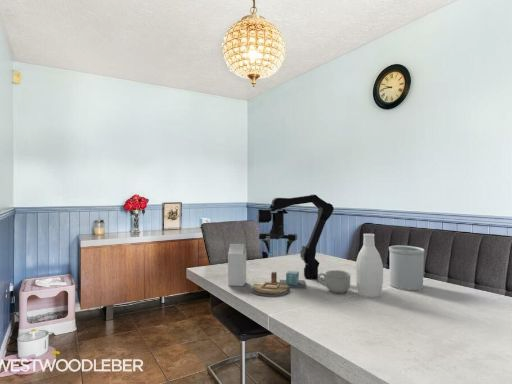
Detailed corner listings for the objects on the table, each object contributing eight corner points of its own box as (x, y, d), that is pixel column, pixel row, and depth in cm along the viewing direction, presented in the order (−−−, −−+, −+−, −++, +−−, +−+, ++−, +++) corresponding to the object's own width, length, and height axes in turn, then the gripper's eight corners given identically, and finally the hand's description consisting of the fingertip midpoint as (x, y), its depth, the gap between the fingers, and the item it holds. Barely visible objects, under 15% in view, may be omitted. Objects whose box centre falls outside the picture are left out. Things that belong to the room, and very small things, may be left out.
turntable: (258, 282, 153) (258, 271, 153) (291, 284, 148) (291, 273, 148) (247, 292, 138) (247, 279, 138) (284, 295, 133) (284, 282, 133)
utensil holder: (429, 285, 148) (428, 247, 148) (418, 293, 137) (418, 252, 137) (396, 280, 158) (395, 244, 158) (384, 286, 147) (383, 248, 147)
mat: (304, 281, 157) (304, 280, 157) (306, 288, 146) (306, 287, 146) (279, 280, 158) (279, 279, 158) (279, 287, 147) (279, 287, 147)
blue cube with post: (288, 281, 155) (288, 270, 155) (298, 282, 154) (298, 271, 154) (284, 286, 148) (284, 274, 148) (295, 287, 146) (295, 275, 146)
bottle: (363, 288, 144) (362, 231, 144) (388, 294, 136) (387, 234, 136) (350, 294, 136) (350, 234, 136) (376, 300, 128) (375, 236, 128)
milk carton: (242, 286, 149) (242, 245, 149) (228, 285, 150) (227, 245, 150) (246, 282, 156) (246, 243, 156) (232, 281, 157) (232, 242, 157)
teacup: (352, 289, 143) (352, 271, 143) (348, 296, 134) (348, 277, 134) (321, 285, 149) (321, 268, 149) (315, 292, 140) (315, 274, 140)
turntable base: (289, 285, 151) (289, 283, 151) (290, 296, 134) (290, 295, 134) (253, 284, 152) (253, 283, 152) (249, 296, 135) (249, 294, 135)
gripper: (255, 223, 157) (255, 255, 157) (293, 224, 151) (293, 258, 151) (262, 221, 168) (262, 251, 168) (297, 222, 162) (297, 253, 162)
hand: (278, 253), depth 162 cm, fingers open, 9 cm apart
